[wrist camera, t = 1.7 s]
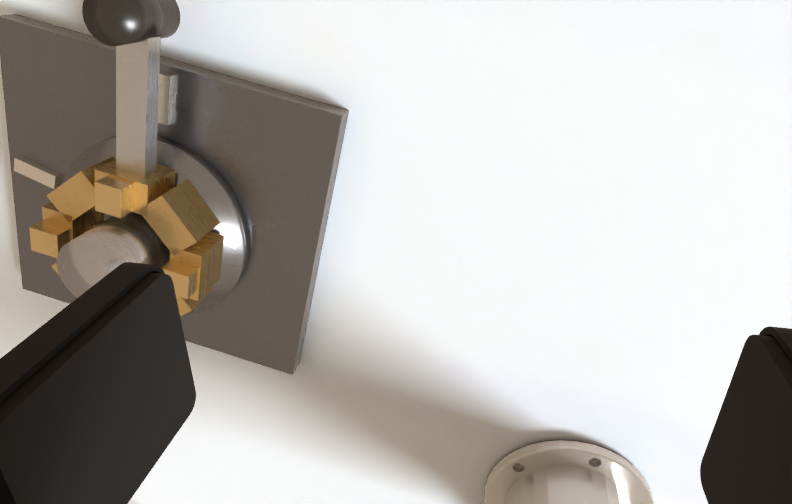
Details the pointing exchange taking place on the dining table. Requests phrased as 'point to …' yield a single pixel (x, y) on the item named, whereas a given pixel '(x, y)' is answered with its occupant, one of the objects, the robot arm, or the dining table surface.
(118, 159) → the knobbed lever handle
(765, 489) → the robot arm
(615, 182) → the dining table surface
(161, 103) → the base plate
